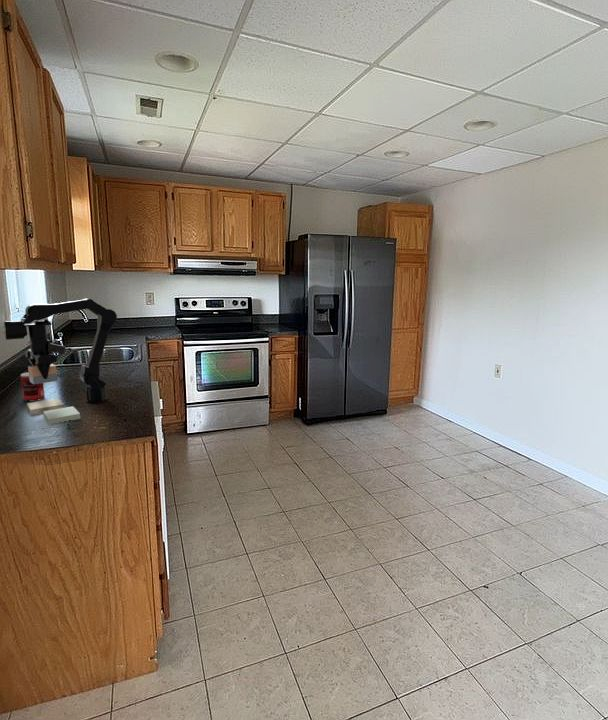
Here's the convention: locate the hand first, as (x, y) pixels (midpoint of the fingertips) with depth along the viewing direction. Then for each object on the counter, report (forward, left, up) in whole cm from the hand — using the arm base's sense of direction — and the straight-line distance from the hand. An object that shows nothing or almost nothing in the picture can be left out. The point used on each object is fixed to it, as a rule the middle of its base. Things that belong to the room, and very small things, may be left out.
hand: (43, 377), depth 161 cm
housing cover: (0, 0, +2) cm, 2 cm away
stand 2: (-12, +8, -13) cm, 19 cm away
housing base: (0, 0, -2) cm, 2 cm away
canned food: (+15, -13, -13) cm, 24 cm away
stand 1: (+1, -1, -13) cm, 13 cm away
